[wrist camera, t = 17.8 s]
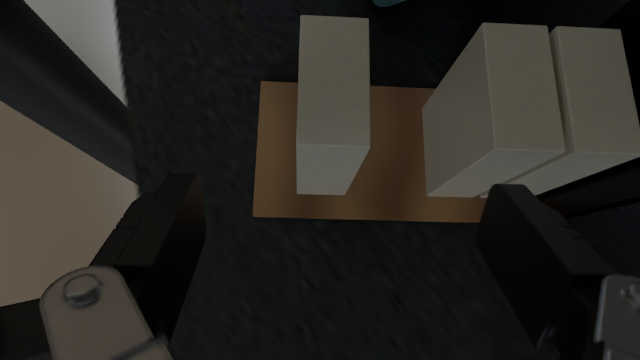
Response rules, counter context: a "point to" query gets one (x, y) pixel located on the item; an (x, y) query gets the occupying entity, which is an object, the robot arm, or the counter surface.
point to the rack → (482, 131)
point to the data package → (386, 2)
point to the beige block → (332, 103)
